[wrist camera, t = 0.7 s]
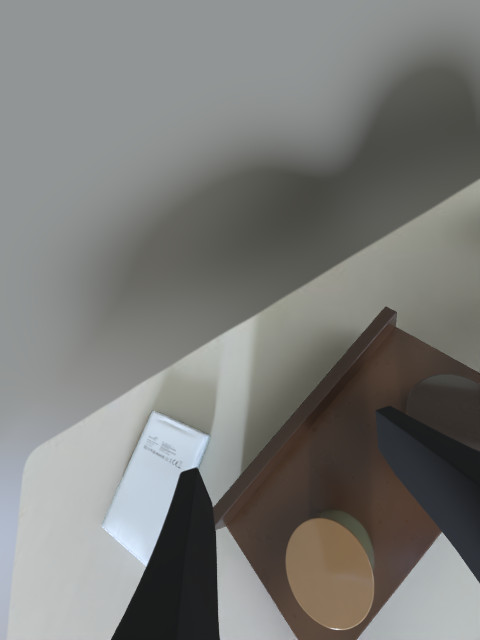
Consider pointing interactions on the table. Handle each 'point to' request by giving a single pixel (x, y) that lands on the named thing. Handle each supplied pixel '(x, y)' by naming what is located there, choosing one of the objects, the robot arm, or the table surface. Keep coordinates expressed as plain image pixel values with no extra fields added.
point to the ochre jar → (448, 407)
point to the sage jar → (332, 569)
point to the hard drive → (152, 482)
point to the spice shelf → (339, 472)
